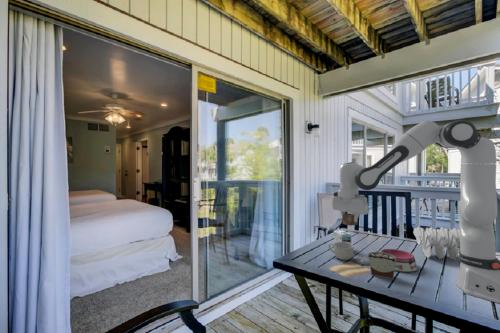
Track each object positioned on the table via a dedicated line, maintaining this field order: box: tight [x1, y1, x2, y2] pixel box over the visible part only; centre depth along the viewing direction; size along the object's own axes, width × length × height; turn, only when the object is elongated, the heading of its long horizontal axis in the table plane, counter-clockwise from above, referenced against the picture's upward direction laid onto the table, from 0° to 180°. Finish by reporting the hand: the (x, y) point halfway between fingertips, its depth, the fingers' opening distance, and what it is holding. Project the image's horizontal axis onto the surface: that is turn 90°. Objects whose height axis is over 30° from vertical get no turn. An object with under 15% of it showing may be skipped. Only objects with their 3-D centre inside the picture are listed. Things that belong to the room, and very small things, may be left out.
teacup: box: [328, 242, 355, 261], centre depth 142 cm, size 14×11×8 cm
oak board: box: [326, 261, 371, 279], centre depth 126 cm, size 14×18×1 cm
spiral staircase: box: [413, 225, 460, 260], centre depth 139 cm, size 18×18×25 cm
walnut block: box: [341, 212, 358, 227], centre depth 126 cm, size 5×5×5 cm
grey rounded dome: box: [355, 256, 370, 266], centre depth 135 cm, size 9×9×1 cm
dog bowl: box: [379, 248, 419, 274], centre depth 130 cm, size 18×19×7 cm
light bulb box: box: [333, 230, 353, 245], centre depth 158 cm, size 11×7×11 cm, turn 9°
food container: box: [367, 251, 397, 280], centre depth 119 cm, size 12×6×10 cm, turn 58°
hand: (349, 220), depth 126 cm, fingers closed on walnut block, 5 cm apart
